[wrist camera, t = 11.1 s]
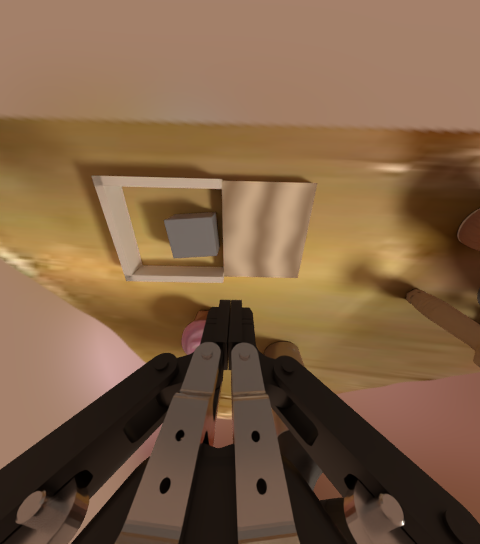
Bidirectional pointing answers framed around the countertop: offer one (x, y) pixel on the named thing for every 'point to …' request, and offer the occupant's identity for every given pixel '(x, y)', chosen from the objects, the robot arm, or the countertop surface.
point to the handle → (448, 319)
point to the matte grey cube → (193, 234)
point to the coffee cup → (470, 231)
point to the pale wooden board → (265, 227)
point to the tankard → (478, 296)
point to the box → (124, 234)
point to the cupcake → (194, 333)
